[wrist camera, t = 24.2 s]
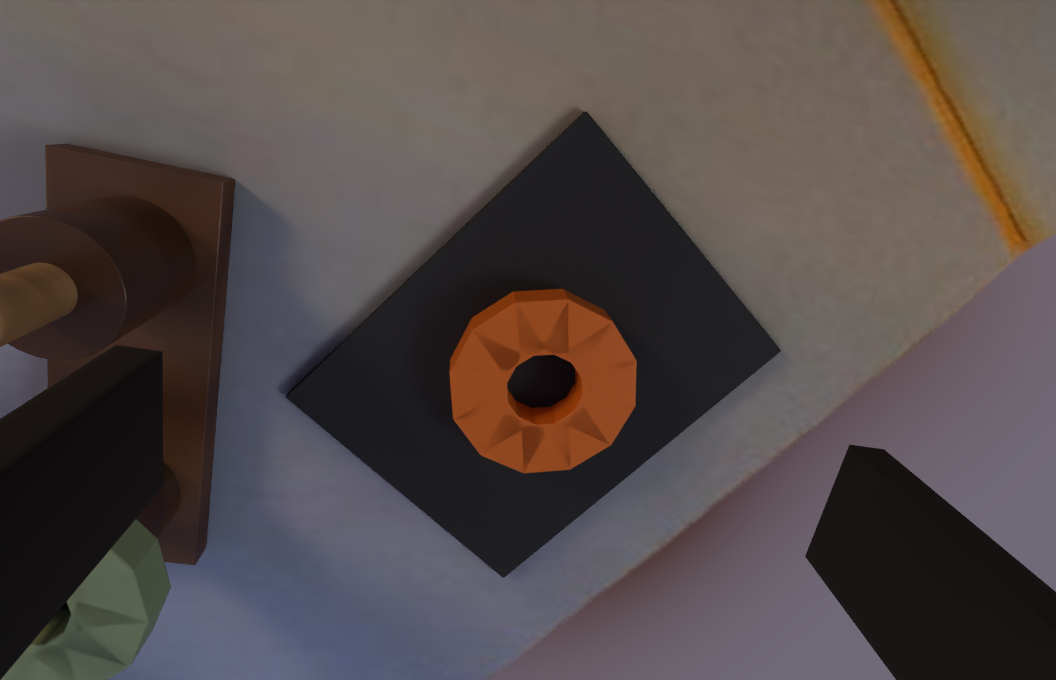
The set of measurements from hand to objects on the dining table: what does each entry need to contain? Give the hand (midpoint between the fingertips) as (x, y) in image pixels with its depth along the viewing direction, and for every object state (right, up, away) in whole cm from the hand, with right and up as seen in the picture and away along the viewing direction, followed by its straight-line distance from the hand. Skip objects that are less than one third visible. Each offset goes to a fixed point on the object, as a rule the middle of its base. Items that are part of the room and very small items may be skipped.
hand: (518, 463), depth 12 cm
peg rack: (-19, +1, +19) cm, 26 cm away
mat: (+1, +1, +21) cm, 21 cm away
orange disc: (+1, +1, +20) cm, 20 cm away
